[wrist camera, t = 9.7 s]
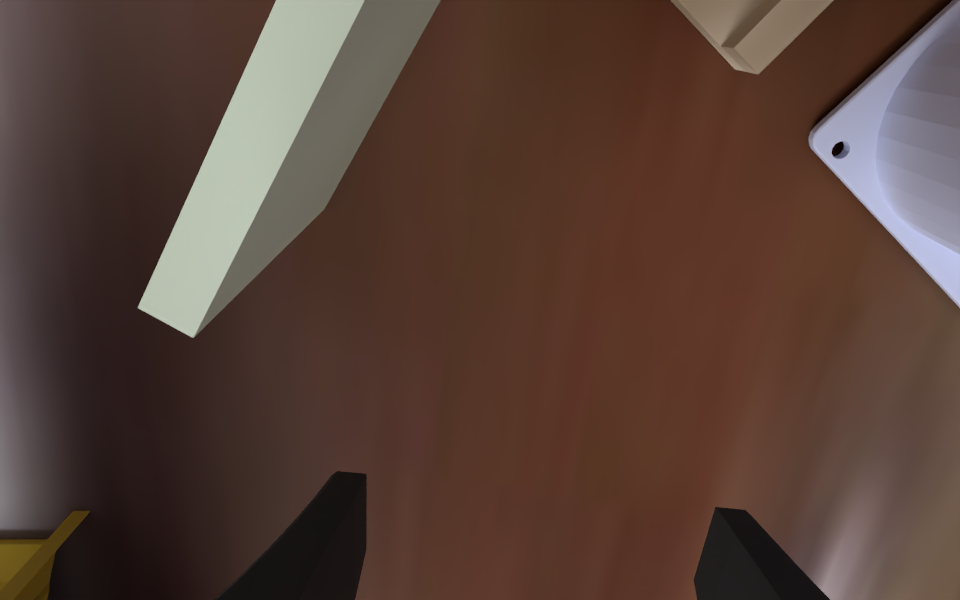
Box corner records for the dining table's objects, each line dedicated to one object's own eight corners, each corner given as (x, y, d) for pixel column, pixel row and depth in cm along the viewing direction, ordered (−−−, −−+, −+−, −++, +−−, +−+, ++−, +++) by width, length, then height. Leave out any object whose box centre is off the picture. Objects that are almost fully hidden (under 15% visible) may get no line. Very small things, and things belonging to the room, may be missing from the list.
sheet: (447, -12, 18) (385, -41, 10) (324, 208, 21) (192, 338, 13) (412, -38, 18) (316, -90, 9) (293, 189, 21) (137, 308, 12)
